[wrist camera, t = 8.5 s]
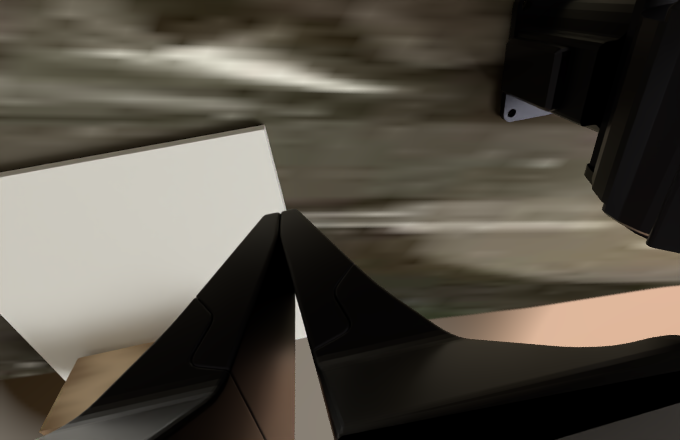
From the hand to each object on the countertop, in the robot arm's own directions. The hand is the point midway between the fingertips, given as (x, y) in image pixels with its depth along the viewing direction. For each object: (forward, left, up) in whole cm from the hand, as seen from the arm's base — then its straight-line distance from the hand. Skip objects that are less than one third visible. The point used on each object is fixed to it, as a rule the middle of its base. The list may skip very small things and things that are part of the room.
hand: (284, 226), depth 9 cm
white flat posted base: (+11, +9, -12) cm, 19 cm away
